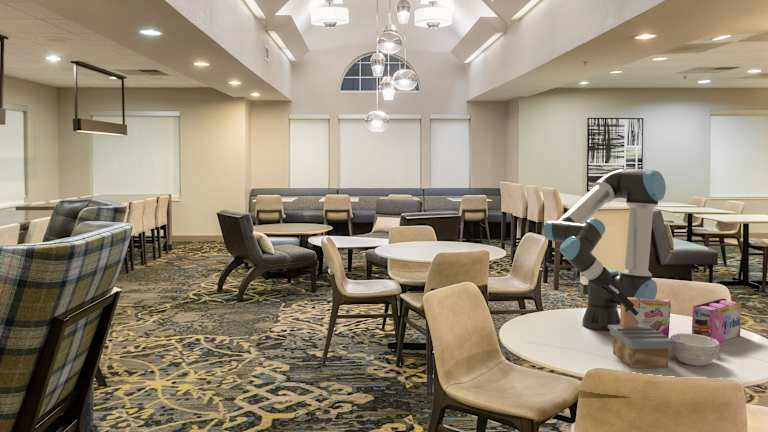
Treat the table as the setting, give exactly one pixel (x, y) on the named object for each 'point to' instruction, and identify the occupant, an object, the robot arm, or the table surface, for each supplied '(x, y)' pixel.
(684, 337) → the paper bowls
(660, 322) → the candy bar box
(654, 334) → the grooved grey block
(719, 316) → the gum box
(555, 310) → the table surface
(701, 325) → the supplement bottle
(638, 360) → the tub
